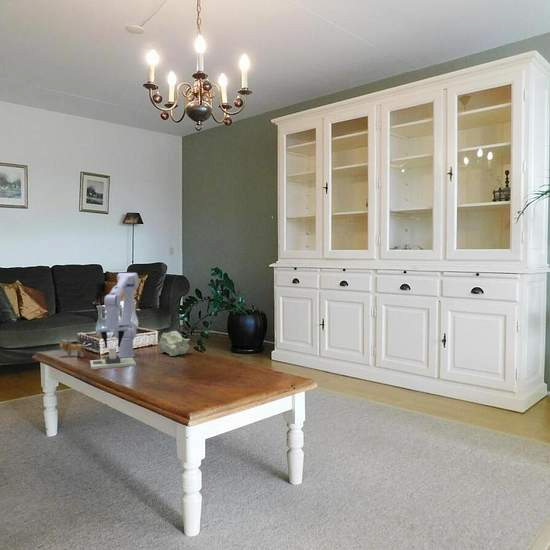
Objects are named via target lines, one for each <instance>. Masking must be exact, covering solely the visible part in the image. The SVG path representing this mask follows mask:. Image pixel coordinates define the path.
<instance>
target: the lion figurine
mask: <svg viewBox="0 0 550 550" xmlns="http://www.w3.org/2000/svg"><path fill="white" fill-rule="evenodd" d="M59 347H60V348H61V349H62V350H63V351H64V352H66V353H67V356H66V358H70V356H72V352H77V351H78V353H79V354H80V355H79V357H81V358H82V357H83V358H85V356H86V357H90V356H89V354H87V352H86V349H85V347H84V345H83V344H81V343H78V344H74V343H72V341H69V340H67V339H62V340H60V341H59Z"/></svg>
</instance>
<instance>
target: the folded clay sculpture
mask: <svg viewBox="0 0 550 550" xmlns="http://www.w3.org/2000/svg"><path fill="white" fill-rule="evenodd" d="M190 340H191V339H190V338H184V337H183V336H182V334H181V333H180V332H178V331H177V330H172V331H170V332H162V334H161V338H160V340H159V341H158V342H159V343H158V344H159V345H158V348H160V350H161V352H162V353H163V352H166V353H167V354H168V355H169V356H171V357H177V356H178V355H182V356H183V354H184V355H186V353H187V351H188V350H189V349H190V345H189V344H188V342H190ZM166 353H165V354H166ZM176 355H177V356H176Z"/></svg>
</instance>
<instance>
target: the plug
mask: <svg viewBox="0 0 550 550" xmlns="http://www.w3.org/2000/svg"><path fill="white" fill-rule="evenodd" d="M108 356H109V359H116V356H117V349H116V348H109V349H108Z"/></svg>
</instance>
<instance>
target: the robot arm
mask: <svg viewBox="0 0 550 550" xmlns="http://www.w3.org/2000/svg"><path fill="white" fill-rule="evenodd" d="M116 281H117V284H116V285H114V286H113V287H112V288H111V290H110V292H109V294H106V295H105V296H104V297H103V298H104V299H103V303H104V309H105V312H106V314H105V316H106V317H105V322H106V325H105V327H104V328H96V334H100V335H101V337H102V339H103V342H104V346H105V349H107V348H108V339H107V338H108V336H107V335H108V334H107V333H114V336H115V338H116V339H117V346H118V353H116V356H119V357H120V358H131V357H132V358H133V357H135V354H134V339H135V338H136V337H137V324H136V323H135V322H133V320H132V317H133V307H134V295H135V292H136V290H138V287H139V275H138V273H137V272H118V274H117V276H116ZM123 295H124V296H123ZM122 297H124V298H123V305H122V314H121V315H122V317H121V320H120V321H119V319H120V317H119V316H120V315H119V313H120V312H119V311H120V310H119V307H120V306H121V300H122Z"/></svg>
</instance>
